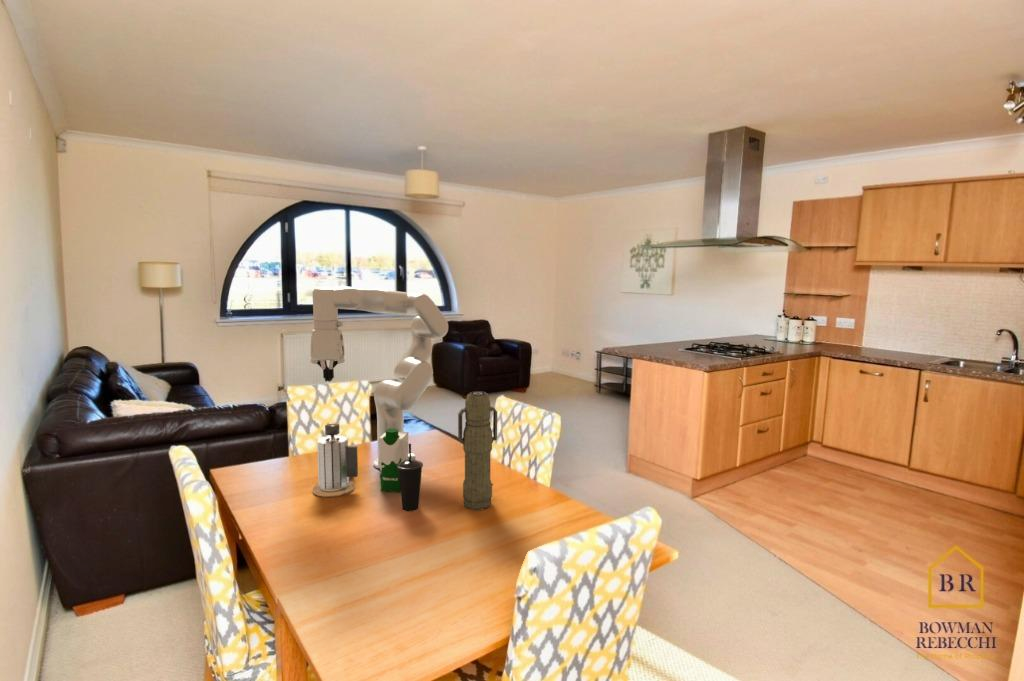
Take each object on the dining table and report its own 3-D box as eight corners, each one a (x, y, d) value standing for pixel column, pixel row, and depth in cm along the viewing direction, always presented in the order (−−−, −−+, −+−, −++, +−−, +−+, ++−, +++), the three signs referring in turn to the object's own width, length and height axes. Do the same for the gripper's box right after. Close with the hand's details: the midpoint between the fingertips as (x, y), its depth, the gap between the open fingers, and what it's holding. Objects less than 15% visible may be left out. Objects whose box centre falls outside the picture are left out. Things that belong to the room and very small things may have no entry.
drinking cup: (417, 514, 156) (417, 448, 154) (393, 512, 158) (392, 446, 155) (427, 504, 163) (426, 441, 161) (403, 501, 165) (402, 439, 163)
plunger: (342, 478, 176) (341, 423, 174) (338, 483, 172) (336, 427, 169) (329, 478, 176) (327, 423, 174) (324, 483, 171) (323, 427, 169)
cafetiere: (362, 481, 181) (361, 433, 179) (351, 497, 168) (350, 445, 166) (321, 481, 180) (319, 433, 178) (306, 497, 167) (304, 445, 166)
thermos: (454, 501, 165) (454, 391, 161) (490, 495, 170) (490, 388, 166) (463, 513, 157) (463, 397, 153) (500, 506, 162) (501, 394, 158)
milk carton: (377, 492, 172) (376, 432, 170) (386, 481, 181) (385, 424, 179) (403, 493, 171) (402, 433, 169) (411, 482, 180) (411, 425, 178)
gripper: (352, 324, 178) (354, 378, 181) (306, 324, 177) (309, 378, 180) (346, 326, 171) (349, 382, 173) (299, 327, 170) (302, 383, 172)
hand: (328, 380), depth 176 cm, fingers closed
